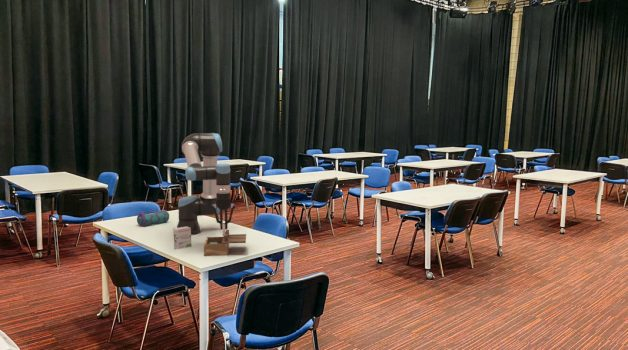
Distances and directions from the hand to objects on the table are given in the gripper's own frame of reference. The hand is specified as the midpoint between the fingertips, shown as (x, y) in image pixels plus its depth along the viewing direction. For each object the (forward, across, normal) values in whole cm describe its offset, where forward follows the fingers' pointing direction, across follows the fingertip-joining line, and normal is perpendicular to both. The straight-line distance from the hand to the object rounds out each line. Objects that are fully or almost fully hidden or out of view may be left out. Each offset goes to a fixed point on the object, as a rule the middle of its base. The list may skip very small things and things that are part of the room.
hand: (224, 235), depth 260 cm
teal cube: (+9, -6, +3) cm, 11 cm away
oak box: (+10, -4, 0) cm, 10 cm away
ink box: (+10, -24, +12) cm, 29 cm away
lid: (+2, +5, 0) cm, 6 cm away
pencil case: (+10, -54, +78) cm, 95 cm away
